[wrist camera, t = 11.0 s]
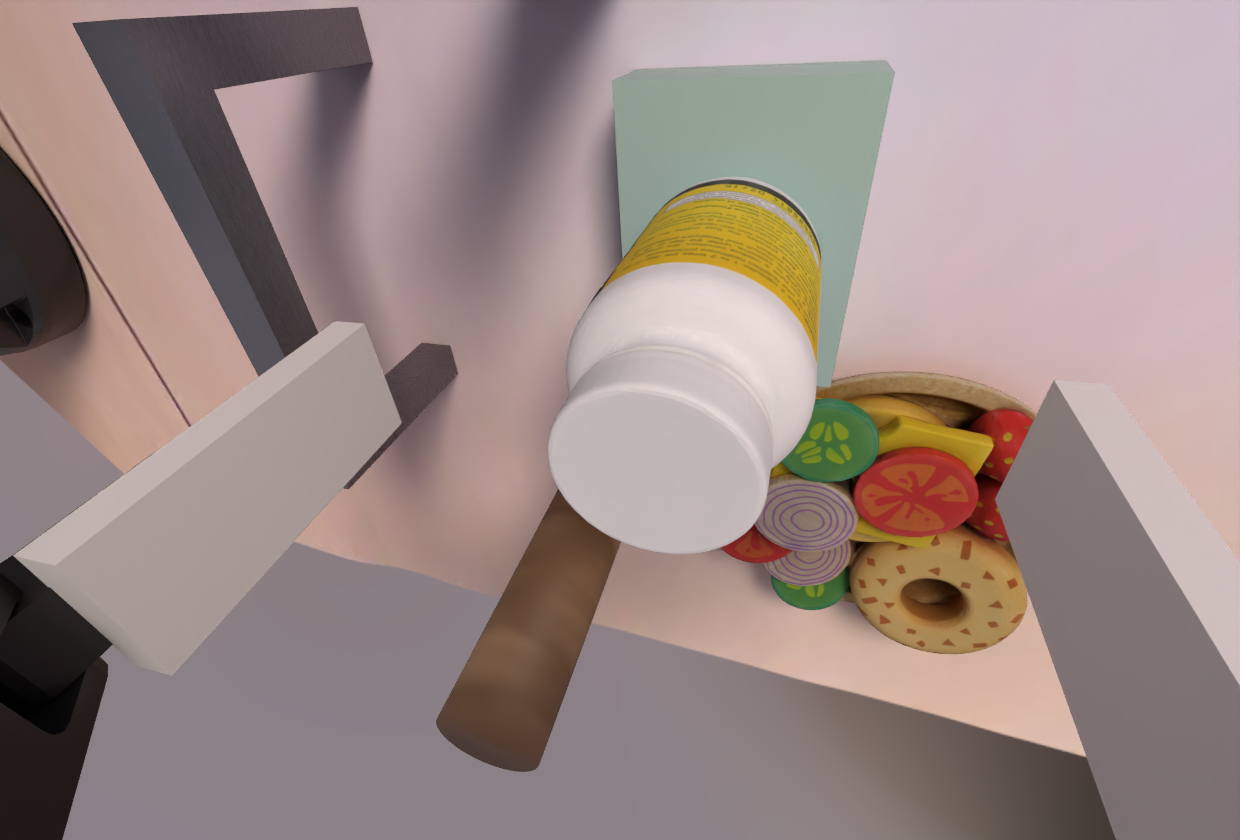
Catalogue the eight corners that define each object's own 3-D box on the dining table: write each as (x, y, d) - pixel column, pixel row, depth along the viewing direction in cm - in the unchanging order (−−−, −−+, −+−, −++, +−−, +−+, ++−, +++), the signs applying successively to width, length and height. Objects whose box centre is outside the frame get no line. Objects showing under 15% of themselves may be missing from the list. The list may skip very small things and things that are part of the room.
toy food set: (970, 618, 27) (985, 682, 25) (702, 547, 30) (691, 598, 27) (1152, 398, 19) (1201, 461, 16) (756, 323, 21) (747, 368, 19)
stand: (645, 334, 22) (628, 366, 20) (636, 69, 17) (612, 80, 15) (829, 350, 21) (830, 387, 19) (885, 60, 15) (894, 71, 13)
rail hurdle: (429, 370, 27) (315, 483, 21) (319, 10, 18) (72, 23, 12) (457, 373, 26) (348, 489, 20) (357, 7, 18) (121, 19, 12)
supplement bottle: (637, 172, 16) (480, 330, 9) (835, 171, 15) (844, 358, 7) (646, 337, 20) (536, 554, 12) (809, 349, 18) (798, 604, 11)
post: (598, 449, 27) (451, 752, 16) (593, 398, 25) (423, 701, 14) (659, 458, 26) (546, 782, 16) (658, 406, 24) (529, 732, 14)
